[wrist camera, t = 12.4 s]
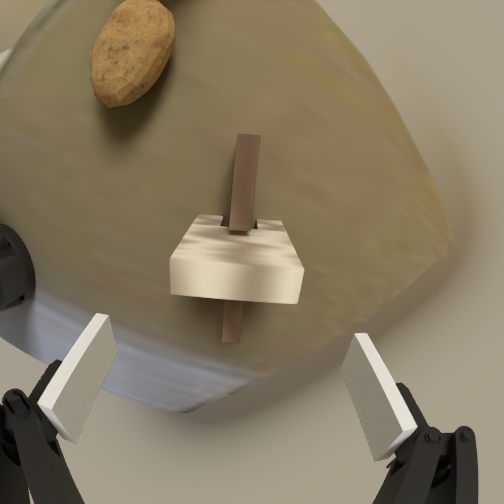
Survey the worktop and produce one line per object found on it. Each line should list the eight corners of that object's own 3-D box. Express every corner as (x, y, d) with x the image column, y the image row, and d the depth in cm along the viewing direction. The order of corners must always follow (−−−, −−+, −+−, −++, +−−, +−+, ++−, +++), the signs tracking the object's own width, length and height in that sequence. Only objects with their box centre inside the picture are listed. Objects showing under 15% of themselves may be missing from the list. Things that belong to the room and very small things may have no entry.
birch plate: (197, 237, 34) (170, 294, 21) (198, 214, 33) (169, 258, 20) (277, 244, 34) (297, 303, 21) (280, 221, 33) (304, 269, 20)
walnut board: (225, 305, 37) (221, 341, 30) (239, 137, 29) (237, 133, 22) (240, 306, 37) (239, 343, 30) (256, 139, 30) (260, 135, 22)
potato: (98, 111, 27) (63, 105, 20) (125, 18, 22) (99, -5, 15) (166, 114, 28) (142, 105, 21) (193, 16, 23) (180, -14, 16)
